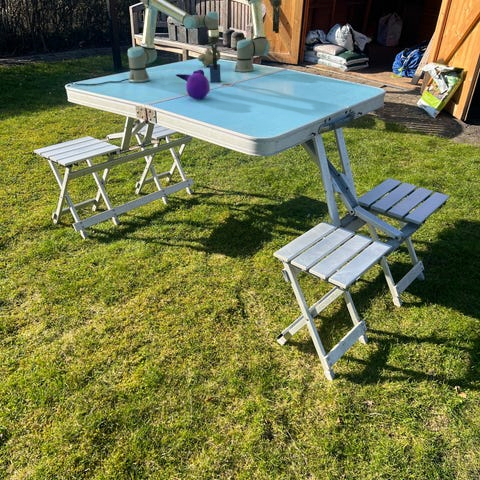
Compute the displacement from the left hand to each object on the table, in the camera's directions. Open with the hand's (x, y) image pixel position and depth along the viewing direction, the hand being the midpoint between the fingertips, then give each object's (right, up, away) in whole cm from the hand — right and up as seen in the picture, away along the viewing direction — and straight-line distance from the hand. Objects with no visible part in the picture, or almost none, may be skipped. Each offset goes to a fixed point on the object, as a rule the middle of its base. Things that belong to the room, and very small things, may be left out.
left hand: (215, 68), depth 327 cm
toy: (-11, -34, -38) cm, 52 cm away
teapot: (-8, +25, +62) cm, 68 cm away
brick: (0, -8, +5) cm, 10 cm away
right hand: (+44, +27, +1) cm, 52 cm away
